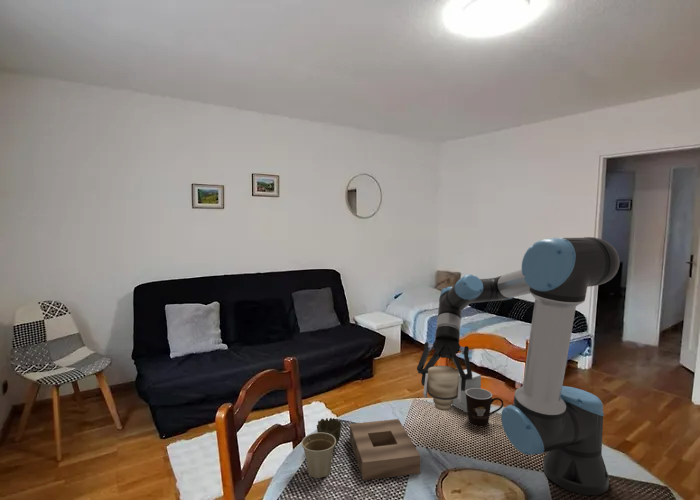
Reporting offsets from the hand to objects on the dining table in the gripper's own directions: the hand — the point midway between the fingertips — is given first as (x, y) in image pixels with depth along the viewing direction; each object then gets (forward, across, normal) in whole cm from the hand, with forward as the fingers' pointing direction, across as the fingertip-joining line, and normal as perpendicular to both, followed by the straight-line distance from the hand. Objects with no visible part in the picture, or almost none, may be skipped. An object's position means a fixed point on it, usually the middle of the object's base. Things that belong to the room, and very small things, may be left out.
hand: (441, 398), depth 113 cm
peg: (+1, 0, -5) cm, 5 cm away
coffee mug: (-4, -11, -28) cm, 30 cm away
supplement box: (-11, -5, -35) cm, 37 cm away
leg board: (+16, +16, -7) cm, 24 cm away
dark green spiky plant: (+18, +32, -6) cm, 38 cm away
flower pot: (+26, +31, +2) cm, 40 cm away
